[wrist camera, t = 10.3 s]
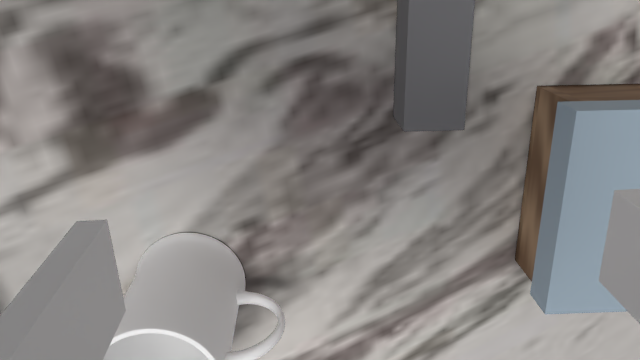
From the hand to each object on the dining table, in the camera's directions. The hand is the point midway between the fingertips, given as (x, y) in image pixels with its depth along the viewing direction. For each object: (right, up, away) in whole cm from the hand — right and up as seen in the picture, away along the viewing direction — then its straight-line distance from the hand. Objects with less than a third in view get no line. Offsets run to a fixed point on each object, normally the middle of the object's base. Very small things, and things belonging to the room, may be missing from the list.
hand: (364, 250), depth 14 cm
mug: (-10, -6, +29) cm, 32 cm away
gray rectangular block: (+6, +12, +23) cm, 27 cm away
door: (+18, 0, +23) cm, 29 cm away
